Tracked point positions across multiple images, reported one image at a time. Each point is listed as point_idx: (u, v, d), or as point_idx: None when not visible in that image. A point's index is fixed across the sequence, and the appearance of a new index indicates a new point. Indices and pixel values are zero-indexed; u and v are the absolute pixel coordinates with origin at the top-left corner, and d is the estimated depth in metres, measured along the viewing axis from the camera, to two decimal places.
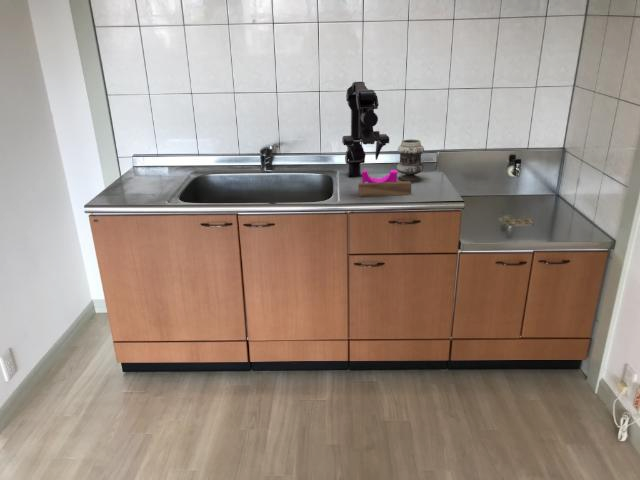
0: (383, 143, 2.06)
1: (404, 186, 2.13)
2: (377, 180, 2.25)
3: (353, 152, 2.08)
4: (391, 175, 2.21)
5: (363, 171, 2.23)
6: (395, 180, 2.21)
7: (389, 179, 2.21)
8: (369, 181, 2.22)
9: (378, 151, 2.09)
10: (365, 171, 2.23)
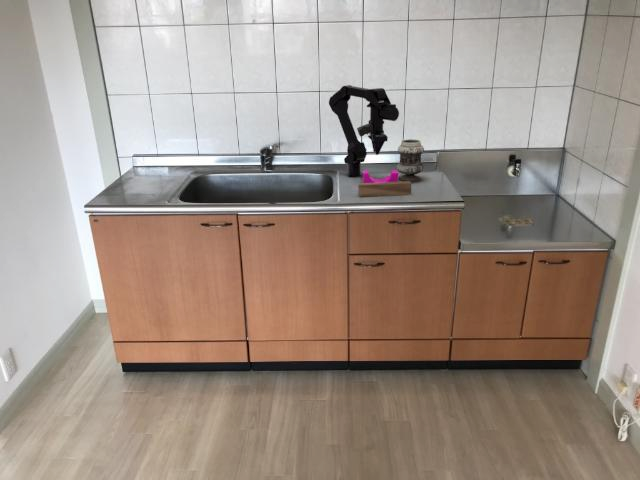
0: (372, 140, 2.19)
1: (404, 186, 2.13)
2: (378, 181, 2.24)
3: (372, 143, 2.30)
4: (392, 176, 2.20)
5: (364, 172, 2.21)
6: (396, 181, 2.21)
7: (390, 180, 2.21)
8: (370, 182, 2.21)
9: (374, 146, 2.24)
10: (366, 172, 2.21)
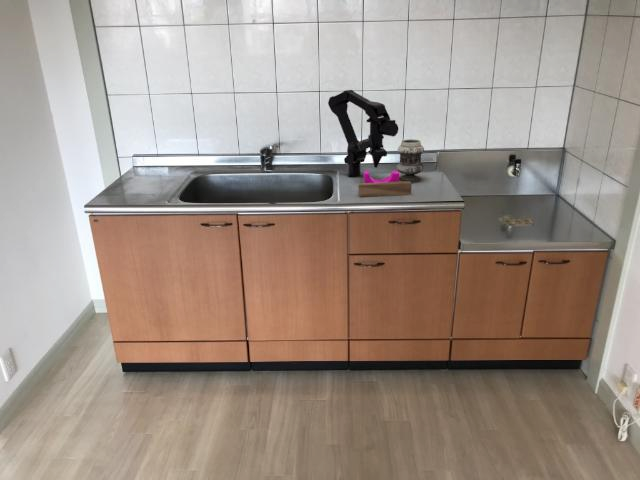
0: (372, 155, 2.22)
1: (404, 186, 2.13)
2: (379, 181, 2.23)
3: (372, 158, 2.30)
4: (393, 176, 2.19)
5: (365, 172, 2.20)
6: (397, 181, 2.20)
7: (391, 180, 2.20)
8: (371, 182, 2.20)
9: (373, 159, 2.29)
10: (367, 172, 2.20)
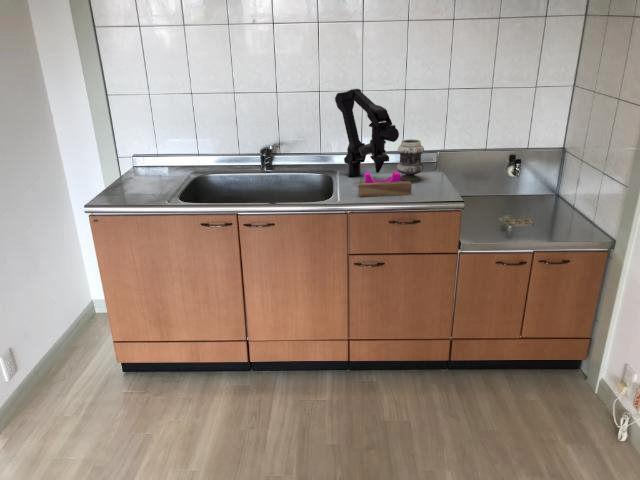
0: (374, 160, 2.19)
1: (404, 186, 2.13)
2: None
3: None
4: (394, 177, 2.18)
5: (366, 173, 2.19)
6: None
7: (392, 181, 2.19)
8: None
9: (375, 165, 2.26)
10: (368, 173, 2.19)
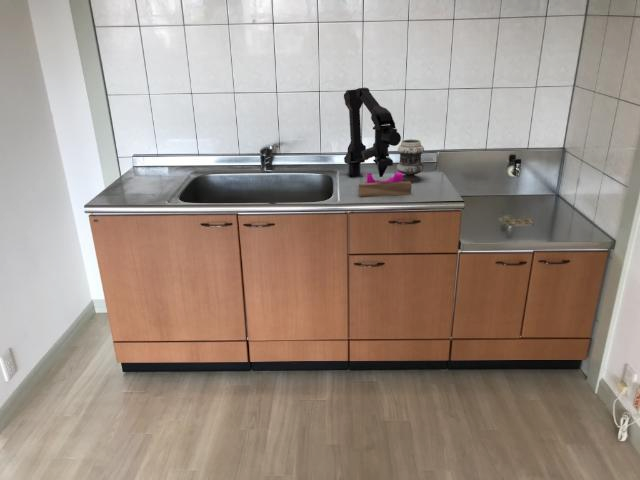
0: (377, 164, 2.12)
1: (404, 186, 2.13)
2: None
3: None
4: (397, 178, 2.17)
5: (368, 174, 2.17)
6: None
7: None
8: None
9: (378, 169, 2.19)
10: (370, 174, 2.17)
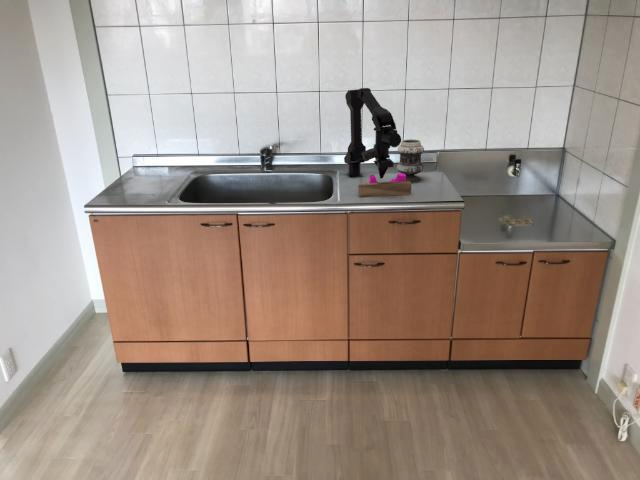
0: (377, 166, 2.11)
1: (404, 186, 2.13)
2: None
3: (378, 169, 2.19)
4: (400, 179, 2.15)
5: (371, 176, 2.15)
6: None
7: None
8: None
9: (379, 170, 2.18)
10: (373, 176, 2.15)
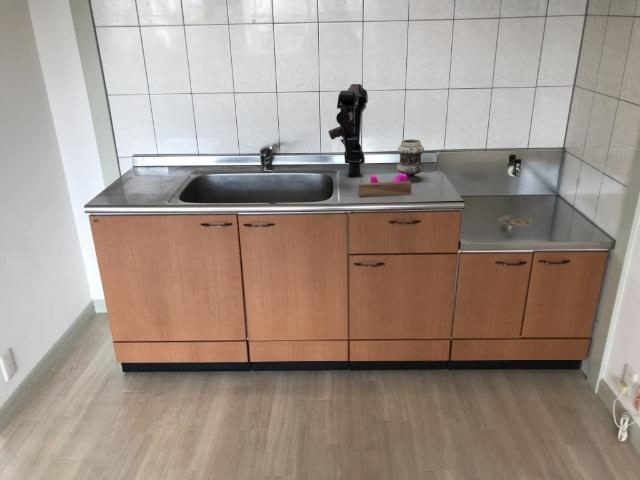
0: (343, 143, 2.15)
1: (404, 186, 2.13)
2: None
3: None
4: (401, 179, 2.15)
5: (372, 176, 2.15)
6: None
7: None
8: None
9: (345, 148, 2.22)
10: (374, 176, 2.15)
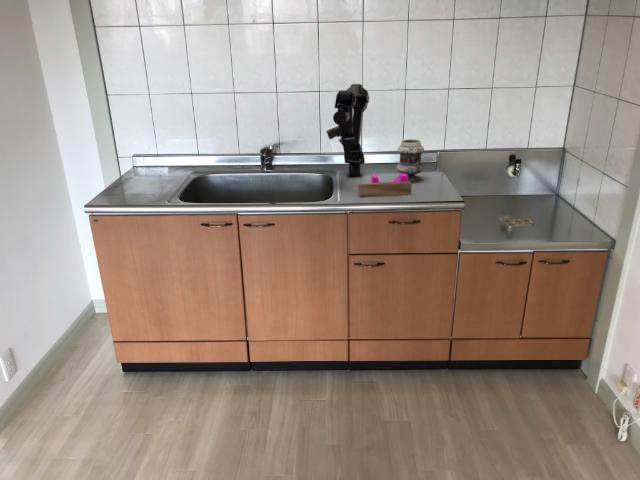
0: (341, 143, 2.15)
1: (404, 186, 2.13)
2: None
3: (343, 147, 2.24)
4: (402, 179, 2.15)
5: (373, 176, 2.15)
6: None
7: None
8: None
9: (343, 148, 2.22)
10: (375, 176, 2.15)
